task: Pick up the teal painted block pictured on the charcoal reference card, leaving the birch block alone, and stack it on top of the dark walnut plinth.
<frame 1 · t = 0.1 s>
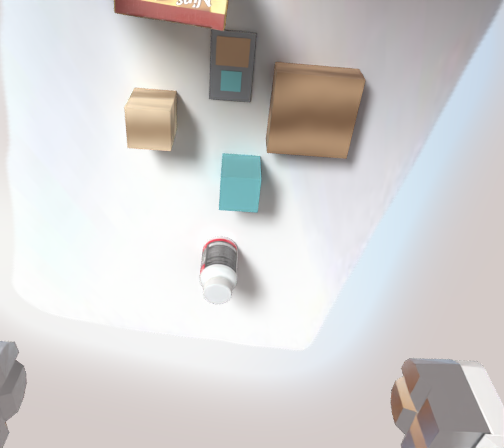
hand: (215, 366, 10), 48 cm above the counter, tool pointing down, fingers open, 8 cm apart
birch block: (156, 108, 57), on the counter
reference card: (231, 66, 53), on the counter
teal block: (240, 170, 62), on the counter
walnut plinth: (309, 104, 57), on the counter
pill bottle: (220, 247, 70), on the counter
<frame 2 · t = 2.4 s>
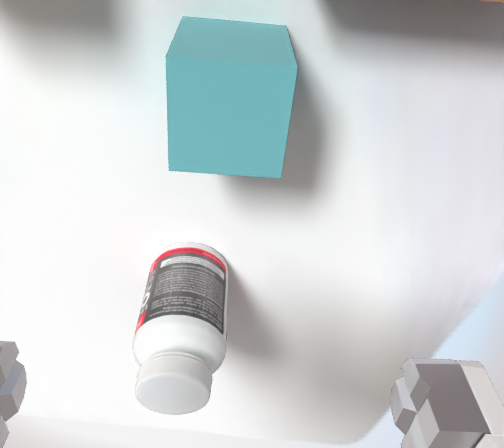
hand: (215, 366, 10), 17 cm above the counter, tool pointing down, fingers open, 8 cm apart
teal block: (231, 72, 24), on the counter
pill bottle: (190, 266, 32), on the counter
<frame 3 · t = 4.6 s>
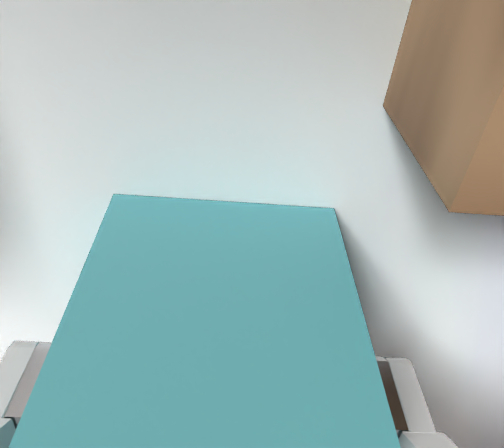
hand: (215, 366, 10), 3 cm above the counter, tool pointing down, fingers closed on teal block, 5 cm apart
teal block: (220, 280, 12), on the counter, touching gripper
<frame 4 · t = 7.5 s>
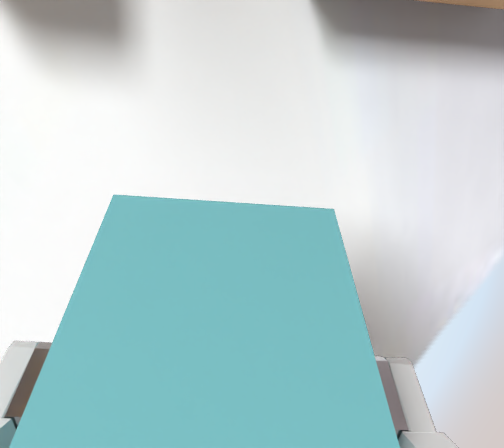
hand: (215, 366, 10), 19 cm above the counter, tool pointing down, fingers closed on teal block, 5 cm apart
teal block: (220, 281, 12), point 16 cm above the counter, touching gripper
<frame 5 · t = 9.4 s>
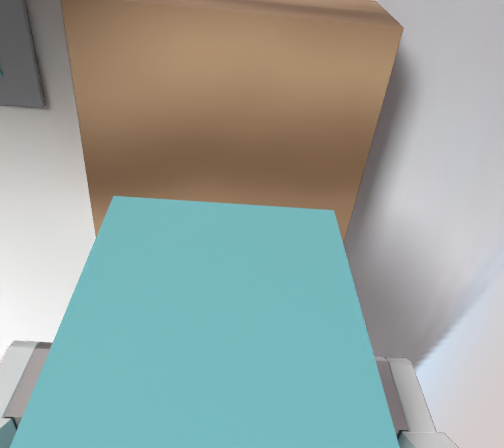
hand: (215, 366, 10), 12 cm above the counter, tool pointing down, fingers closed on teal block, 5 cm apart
teal block: (220, 282, 12), point 9 cm above the counter, touching gripper
walnut plinth: (229, 115, 19), on the counter
when the fingers open (8 cm above the counter, at t = 10.6 s): teal block drops 2 cm, resting on walnut plinth.
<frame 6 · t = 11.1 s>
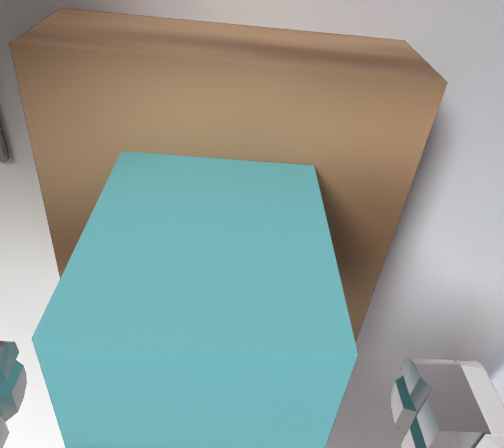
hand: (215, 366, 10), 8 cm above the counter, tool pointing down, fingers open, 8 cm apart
teal block: (215, 234, 13), point 4 cm above the counter, touching walnut plinth
walnut plinth: (227, 167, 17), on the counter, touching teal block
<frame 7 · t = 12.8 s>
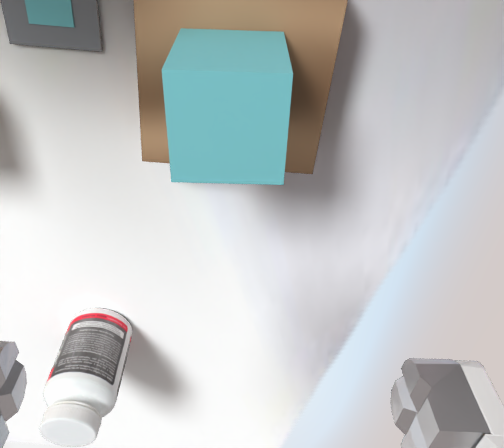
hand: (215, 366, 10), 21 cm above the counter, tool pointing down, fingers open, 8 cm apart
teal block: (232, 80, 24), point 4 cm above the counter, touching walnut plinth
walnut plinth: (235, 60, 27), on the counter, touching teal block
pill bottle: (102, 324, 40), on the counter
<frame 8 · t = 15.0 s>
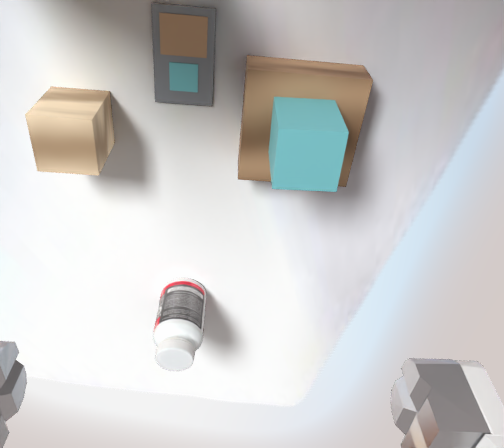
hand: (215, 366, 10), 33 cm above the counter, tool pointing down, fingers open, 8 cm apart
birch block: (84, 115, 41), on the counter
reference card: (184, 57, 38), on the counter
teal block: (300, 126, 38), point 4 cm above the counter, touching walnut plinth
walnut plinth: (296, 113, 42), on the counter, touching teal block
pill bottle: (184, 291, 55), on the counter
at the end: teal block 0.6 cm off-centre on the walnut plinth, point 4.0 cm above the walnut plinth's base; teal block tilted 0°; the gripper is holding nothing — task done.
